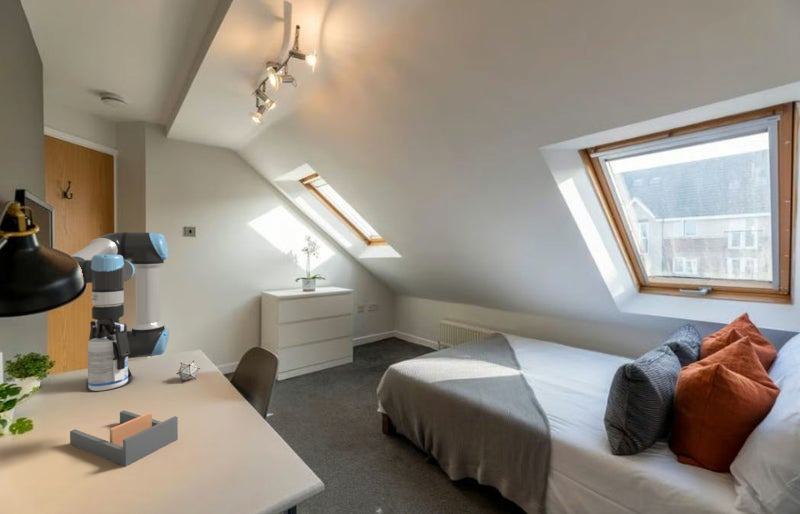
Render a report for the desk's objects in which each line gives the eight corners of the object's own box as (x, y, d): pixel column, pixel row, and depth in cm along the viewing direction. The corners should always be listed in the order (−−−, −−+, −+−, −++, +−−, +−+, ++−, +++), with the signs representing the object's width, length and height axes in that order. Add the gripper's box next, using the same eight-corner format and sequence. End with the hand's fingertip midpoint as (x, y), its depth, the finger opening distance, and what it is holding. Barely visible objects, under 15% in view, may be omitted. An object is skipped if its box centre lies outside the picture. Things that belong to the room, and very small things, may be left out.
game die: (182, 389, 153) (167, 372, 152) (198, 376, 161) (183, 359, 159) (193, 383, 149) (177, 365, 148) (208, 369, 157) (193, 352, 155)
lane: (70, 444, 104) (69, 421, 103) (123, 422, 117) (123, 401, 117) (125, 466, 94) (125, 440, 94) (177, 439, 107) (177, 416, 107)
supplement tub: (126, 387, 106) (126, 339, 106) (85, 394, 101) (84, 344, 101) (129, 377, 114) (129, 333, 114) (91, 383, 109) (90, 336, 109)
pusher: (110, 453, 99) (109, 428, 99) (149, 434, 109) (149, 412, 109) (119, 456, 98) (119, 432, 98) (158, 437, 108) (158, 415, 108)
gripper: (72, 303, 108) (72, 375, 108) (116, 309, 99) (117, 387, 100) (100, 300, 115) (101, 368, 115) (144, 305, 106) (145, 378, 107)
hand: (108, 377), depth 108 cm, fingers closed on supplement tub, 9 cm apart
